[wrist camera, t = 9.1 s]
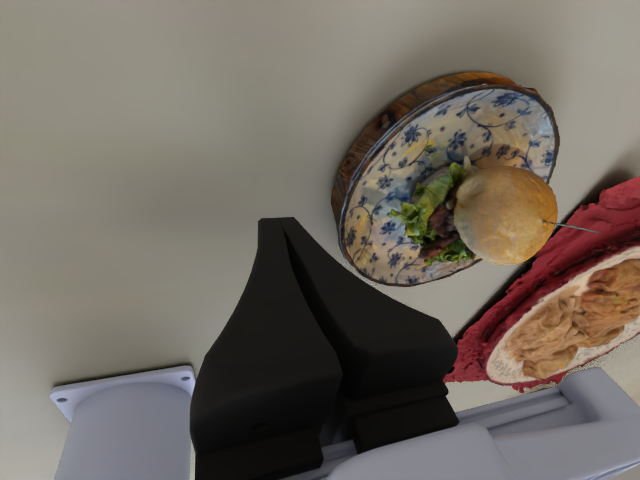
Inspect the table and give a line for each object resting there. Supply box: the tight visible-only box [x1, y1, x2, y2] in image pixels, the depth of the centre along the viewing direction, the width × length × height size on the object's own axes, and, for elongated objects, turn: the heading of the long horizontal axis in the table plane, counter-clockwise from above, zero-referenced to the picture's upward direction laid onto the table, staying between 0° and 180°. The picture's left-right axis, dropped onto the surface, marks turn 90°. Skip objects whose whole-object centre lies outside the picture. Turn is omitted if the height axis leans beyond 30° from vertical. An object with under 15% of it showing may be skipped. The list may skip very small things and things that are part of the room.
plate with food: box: [443, 177, 640, 393], centre depth 31 cm, size 24×26×4 cm
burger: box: [331, 72, 600, 287], centre depth 15 cm, size 12×12×8 cm
